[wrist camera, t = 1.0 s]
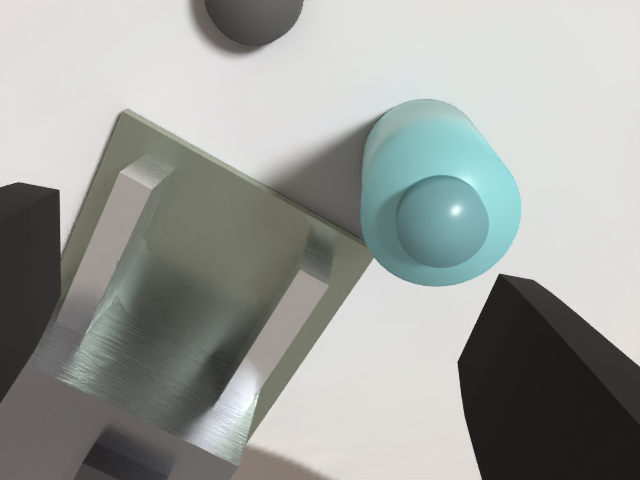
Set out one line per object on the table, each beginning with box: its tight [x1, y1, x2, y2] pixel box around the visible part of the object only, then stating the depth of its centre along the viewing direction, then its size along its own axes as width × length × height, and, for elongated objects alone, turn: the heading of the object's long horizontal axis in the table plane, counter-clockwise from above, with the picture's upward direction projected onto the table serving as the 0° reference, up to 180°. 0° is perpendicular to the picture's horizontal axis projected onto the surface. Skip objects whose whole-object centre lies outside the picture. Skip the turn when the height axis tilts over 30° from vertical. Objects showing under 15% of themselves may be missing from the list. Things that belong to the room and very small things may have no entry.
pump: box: [360, 99, 521, 286], centre depth 18 cm, size 4×4×7 cm
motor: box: [0, 109, 374, 480], centre depth 22 cm, size 11×15×6 cm
